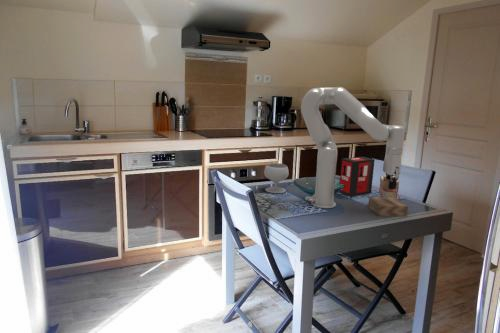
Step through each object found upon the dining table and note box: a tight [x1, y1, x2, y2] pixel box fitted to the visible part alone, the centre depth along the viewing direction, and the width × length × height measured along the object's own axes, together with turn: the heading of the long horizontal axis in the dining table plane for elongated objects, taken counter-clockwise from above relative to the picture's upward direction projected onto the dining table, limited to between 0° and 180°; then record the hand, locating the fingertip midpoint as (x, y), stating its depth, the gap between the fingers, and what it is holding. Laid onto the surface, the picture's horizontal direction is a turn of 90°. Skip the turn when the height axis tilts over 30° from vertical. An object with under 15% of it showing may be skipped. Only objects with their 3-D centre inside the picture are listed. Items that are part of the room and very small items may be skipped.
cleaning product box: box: [338, 156, 376, 198], centre depth 219 cm, size 16×9×20 cm, turn 120°
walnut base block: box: [367, 196, 409, 217], centre depth 191 cm, size 14×14×5 cm
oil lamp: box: [381, 178, 399, 192], centre depth 188 cm, size 9×4×8 cm, turn 107°
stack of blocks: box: [378, 174, 400, 199], centre depth 214 cm, size 21×6×12 cm, turn 170°
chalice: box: [263, 162, 290, 194], centre depth 218 cm, size 14×14×15 cm
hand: (390, 187), depth 188 cm, fingers closed on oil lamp, 4 cm apart
